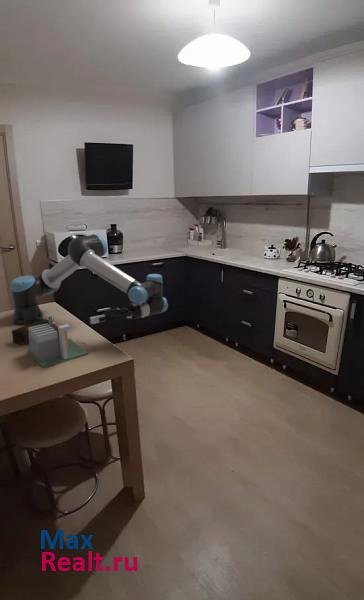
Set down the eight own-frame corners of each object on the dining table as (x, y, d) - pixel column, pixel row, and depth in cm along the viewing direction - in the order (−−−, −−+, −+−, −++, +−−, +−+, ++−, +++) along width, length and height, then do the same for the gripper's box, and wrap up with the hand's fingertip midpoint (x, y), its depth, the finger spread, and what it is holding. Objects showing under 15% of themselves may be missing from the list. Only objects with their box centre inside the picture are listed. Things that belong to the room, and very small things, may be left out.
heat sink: (27, 351, 154) (23, 320, 150) (70, 340, 166) (66, 310, 161) (42, 367, 139) (37, 333, 135) (88, 354, 151) (85, 322, 146)
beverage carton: (56, 332, 176) (55, 319, 174) (24, 346, 159) (22, 333, 158) (45, 329, 179) (43, 317, 177) (12, 343, 163) (9, 330, 161)
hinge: (50, 342, 159) (47, 317, 156) (55, 341, 161) (52, 316, 157) (65, 356, 145) (62, 329, 142) (71, 354, 147) (68, 327, 143)
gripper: (145, 321, 163) (98, 333, 149) (131, 313, 173) (85, 324, 159) (145, 306, 161) (97, 316, 147) (130, 299, 171) (84, 308, 157)
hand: (90, 320), depth 153 cm, fingers closed
